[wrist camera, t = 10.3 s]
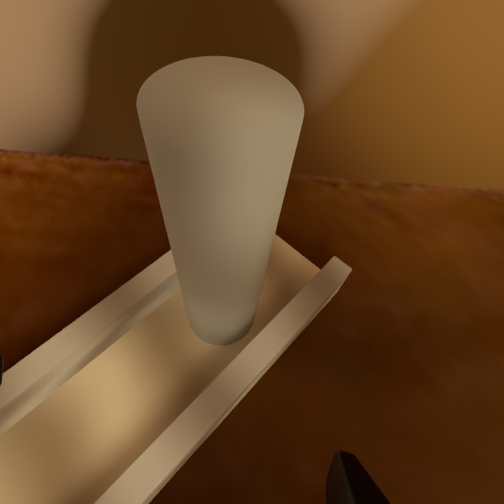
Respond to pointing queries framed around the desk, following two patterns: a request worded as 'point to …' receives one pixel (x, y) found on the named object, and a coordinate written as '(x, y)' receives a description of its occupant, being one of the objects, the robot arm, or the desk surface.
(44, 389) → the sliding track
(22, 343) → the desk surface
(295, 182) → the desk surface
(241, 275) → the beige piece
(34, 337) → the desk surface
